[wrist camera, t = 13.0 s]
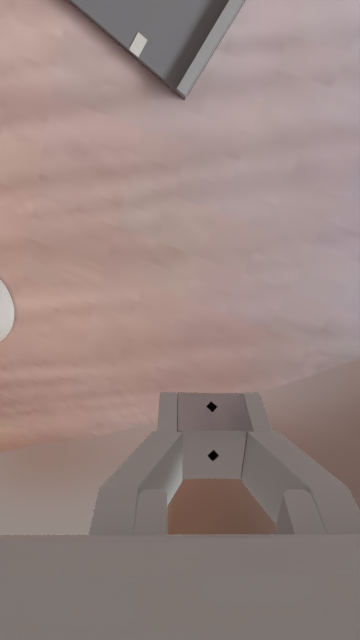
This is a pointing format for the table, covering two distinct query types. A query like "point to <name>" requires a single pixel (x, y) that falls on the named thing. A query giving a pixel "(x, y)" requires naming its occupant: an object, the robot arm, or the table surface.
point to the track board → (165, 33)
